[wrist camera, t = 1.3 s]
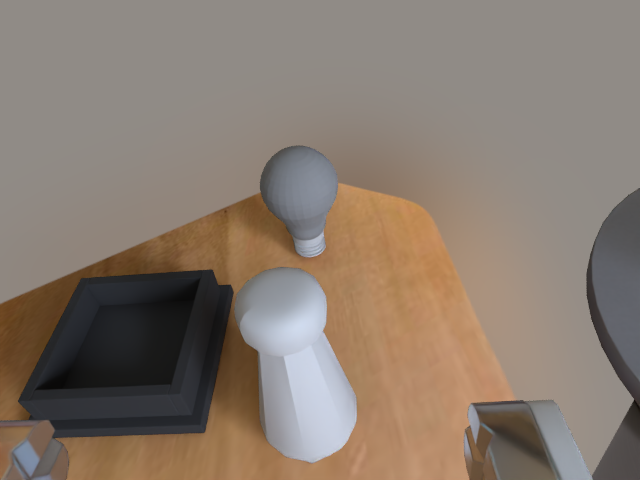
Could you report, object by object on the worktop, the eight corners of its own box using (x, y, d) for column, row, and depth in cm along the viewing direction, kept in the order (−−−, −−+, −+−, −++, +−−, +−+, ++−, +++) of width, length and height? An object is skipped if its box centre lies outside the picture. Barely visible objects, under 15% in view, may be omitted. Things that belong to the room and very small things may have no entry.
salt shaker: (273, 389, 34) (225, 250, 25) (358, 386, 34) (339, 241, 25) (263, 478, 30) (202, 346, 21) (361, 476, 29) (339, 339, 21)
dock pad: (233, 292, 41) (223, 262, 39) (205, 433, 32) (189, 404, 30) (94, 301, 42) (75, 272, 40) (29, 439, 34) (1, 412, 31)
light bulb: (267, 271, 43) (240, 173, 36) (289, 225, 47) (268, 129, 40) (335, 279, 41) (321, 178, 34) (352, 230, 45) (342, 132, 38)
